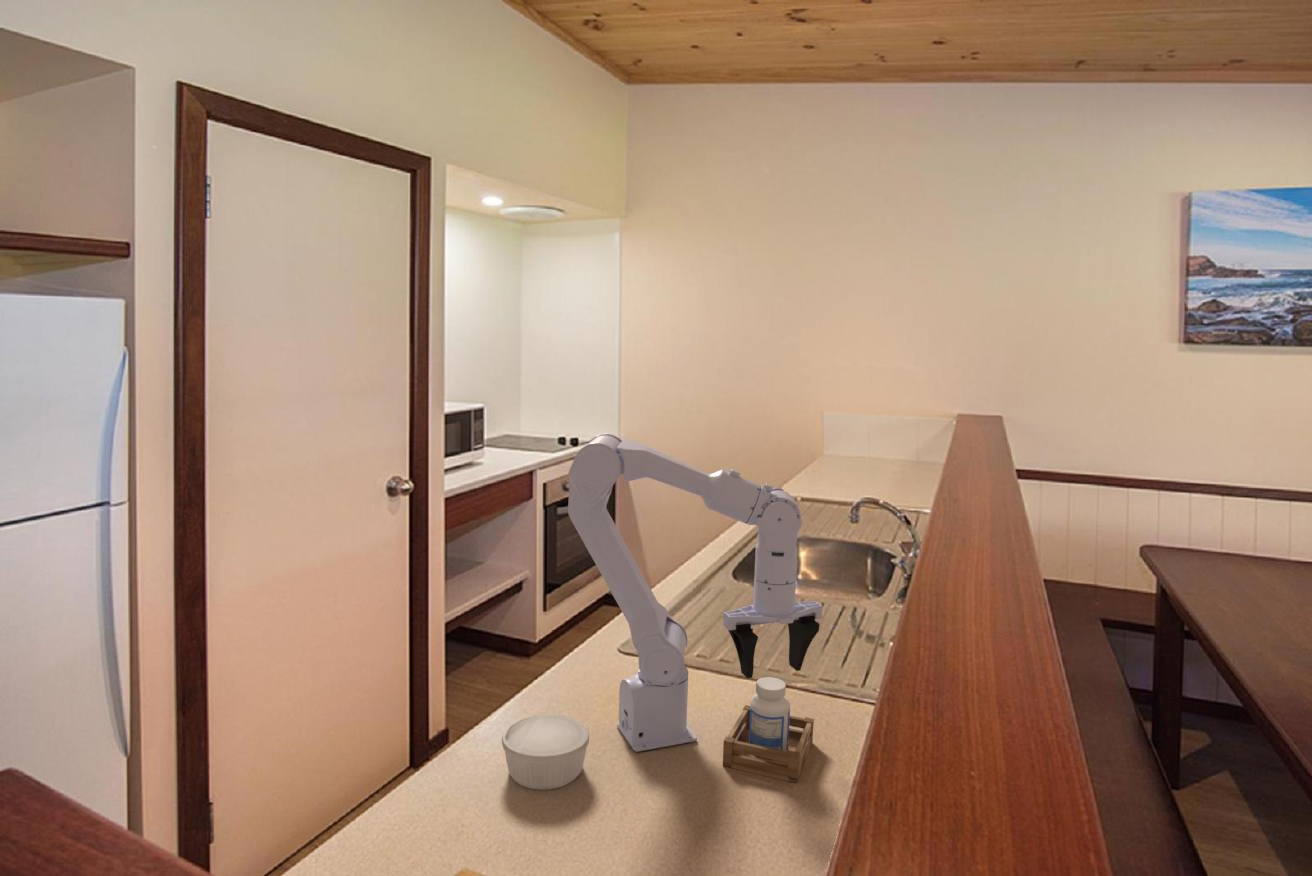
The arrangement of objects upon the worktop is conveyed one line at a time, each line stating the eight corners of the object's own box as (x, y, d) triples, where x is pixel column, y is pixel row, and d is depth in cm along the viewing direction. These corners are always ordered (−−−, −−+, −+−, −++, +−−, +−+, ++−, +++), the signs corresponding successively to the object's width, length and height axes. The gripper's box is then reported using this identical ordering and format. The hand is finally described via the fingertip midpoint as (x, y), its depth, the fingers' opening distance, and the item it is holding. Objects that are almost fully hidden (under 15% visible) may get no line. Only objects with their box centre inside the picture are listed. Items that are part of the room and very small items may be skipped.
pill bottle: (763, 735, 115) (766, 670, 114) (795, 750, 112) (799, 683, 110) (740, 749, 111) (743, 682, 110) (772, 765, 108) (776, 696, 106)
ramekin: (493, 758, 109) (493, 721, 108) (572, 742, 113) (573, 707, 113) (514, 804, 99) (514, 764, 98) (600, 785, 103) (601, 746, 103)
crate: (796, 783, 105) (798, 757, 104) (722, 765, 108) (723, 740, 108) (812, 742, 115) (813, 718, 114) (744, 728, 119) (745, 704, 118)
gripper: (740, 593, 105) (737, 691, 107) (836, 582, 110) (831, 676, 112) (718, 576, 112) (715, 669, 114) (809, 567, 117) (804, 656, 119)
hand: (771, 671), depth 114 cm, fingers open, 7 cm apart
